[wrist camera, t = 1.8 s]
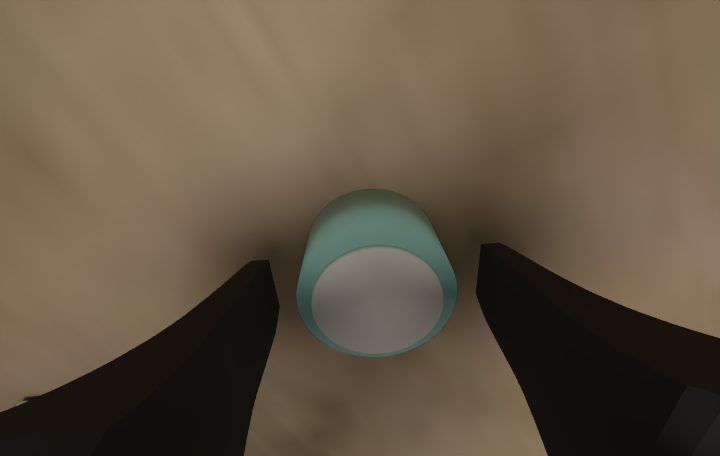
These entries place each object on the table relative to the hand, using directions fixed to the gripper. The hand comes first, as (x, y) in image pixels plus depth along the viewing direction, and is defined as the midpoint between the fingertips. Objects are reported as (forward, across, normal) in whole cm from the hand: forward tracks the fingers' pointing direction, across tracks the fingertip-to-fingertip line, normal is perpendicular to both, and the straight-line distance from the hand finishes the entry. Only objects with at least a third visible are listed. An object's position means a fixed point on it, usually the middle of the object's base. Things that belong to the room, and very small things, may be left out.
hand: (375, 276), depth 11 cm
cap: (+2, 0, 0) cm, 2 cm away
